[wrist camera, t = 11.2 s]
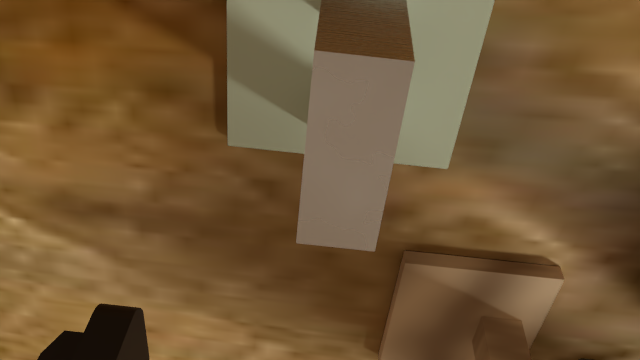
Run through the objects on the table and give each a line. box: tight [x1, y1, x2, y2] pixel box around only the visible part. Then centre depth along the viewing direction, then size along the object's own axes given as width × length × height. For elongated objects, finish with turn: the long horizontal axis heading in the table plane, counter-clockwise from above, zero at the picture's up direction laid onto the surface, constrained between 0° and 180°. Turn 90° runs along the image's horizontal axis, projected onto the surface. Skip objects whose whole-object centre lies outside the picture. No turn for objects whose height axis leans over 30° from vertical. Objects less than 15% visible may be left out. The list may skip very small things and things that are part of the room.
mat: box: [227, 0, 495, 169], centre depth 27 cm, size 11×11×1 cm
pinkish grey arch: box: [296, 0, 415, 252], centre depth 24 cm, size 3×8×8 cm, turn 175°
